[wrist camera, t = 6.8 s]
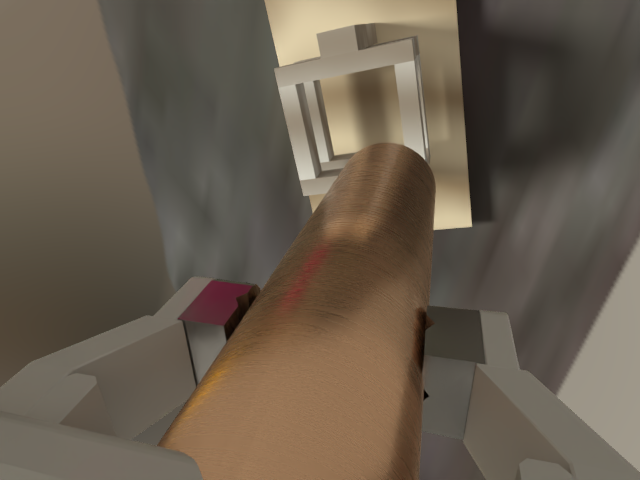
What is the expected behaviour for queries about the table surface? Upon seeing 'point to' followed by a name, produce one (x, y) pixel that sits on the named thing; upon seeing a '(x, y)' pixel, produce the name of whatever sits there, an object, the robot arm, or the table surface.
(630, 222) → the table surface
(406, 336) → the brown rounded cylinder
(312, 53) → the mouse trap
